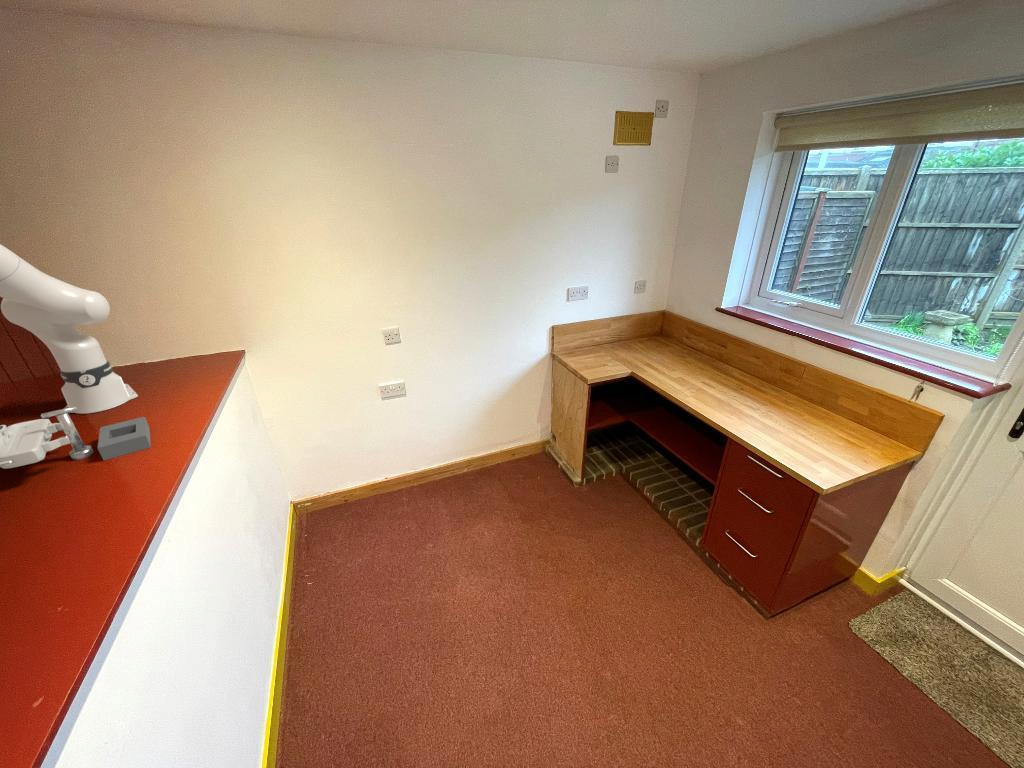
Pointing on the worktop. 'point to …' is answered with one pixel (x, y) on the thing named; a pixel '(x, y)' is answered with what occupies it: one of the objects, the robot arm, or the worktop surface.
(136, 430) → the grey block with hole
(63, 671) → the worktop surface
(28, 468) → the worktop surface
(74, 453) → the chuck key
